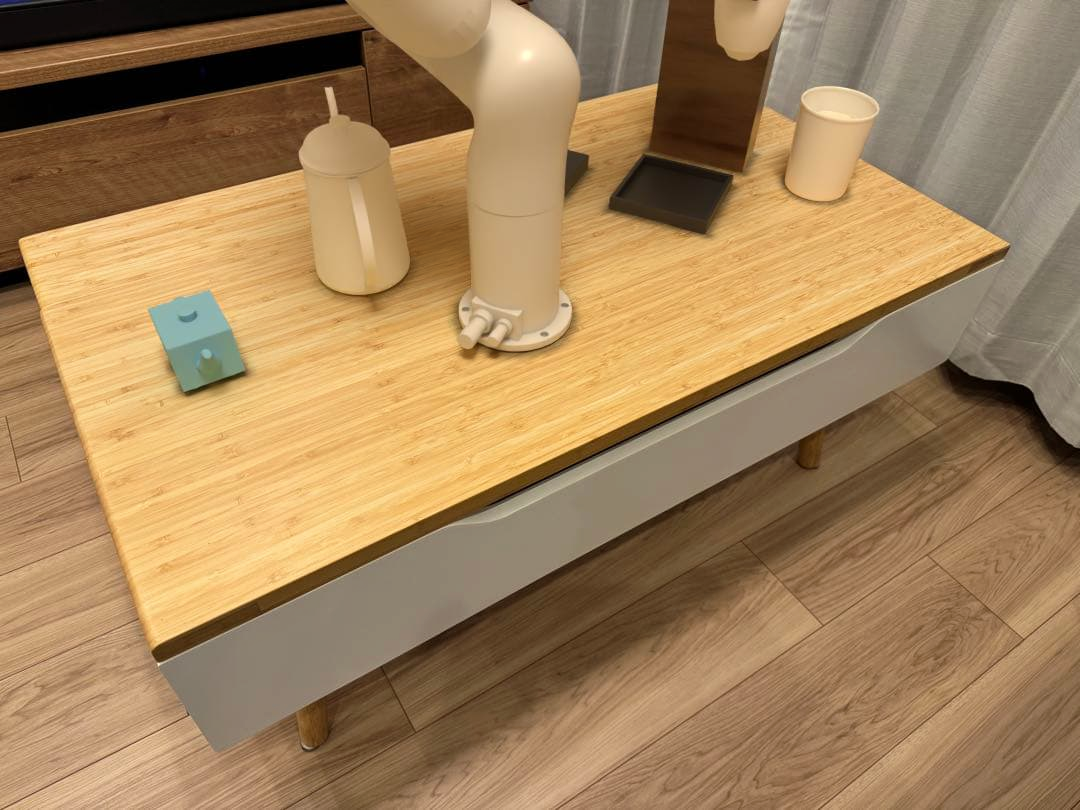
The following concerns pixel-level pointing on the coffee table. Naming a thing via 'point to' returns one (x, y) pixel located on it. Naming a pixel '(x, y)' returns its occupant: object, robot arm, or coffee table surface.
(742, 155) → the column
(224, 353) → the teal peg block
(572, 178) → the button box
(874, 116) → the cream open tapered cylinder
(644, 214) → the drip pan
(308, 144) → the coffeepot
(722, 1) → the cream vase
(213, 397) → the coffee table surface
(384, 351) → the coffee table surface
